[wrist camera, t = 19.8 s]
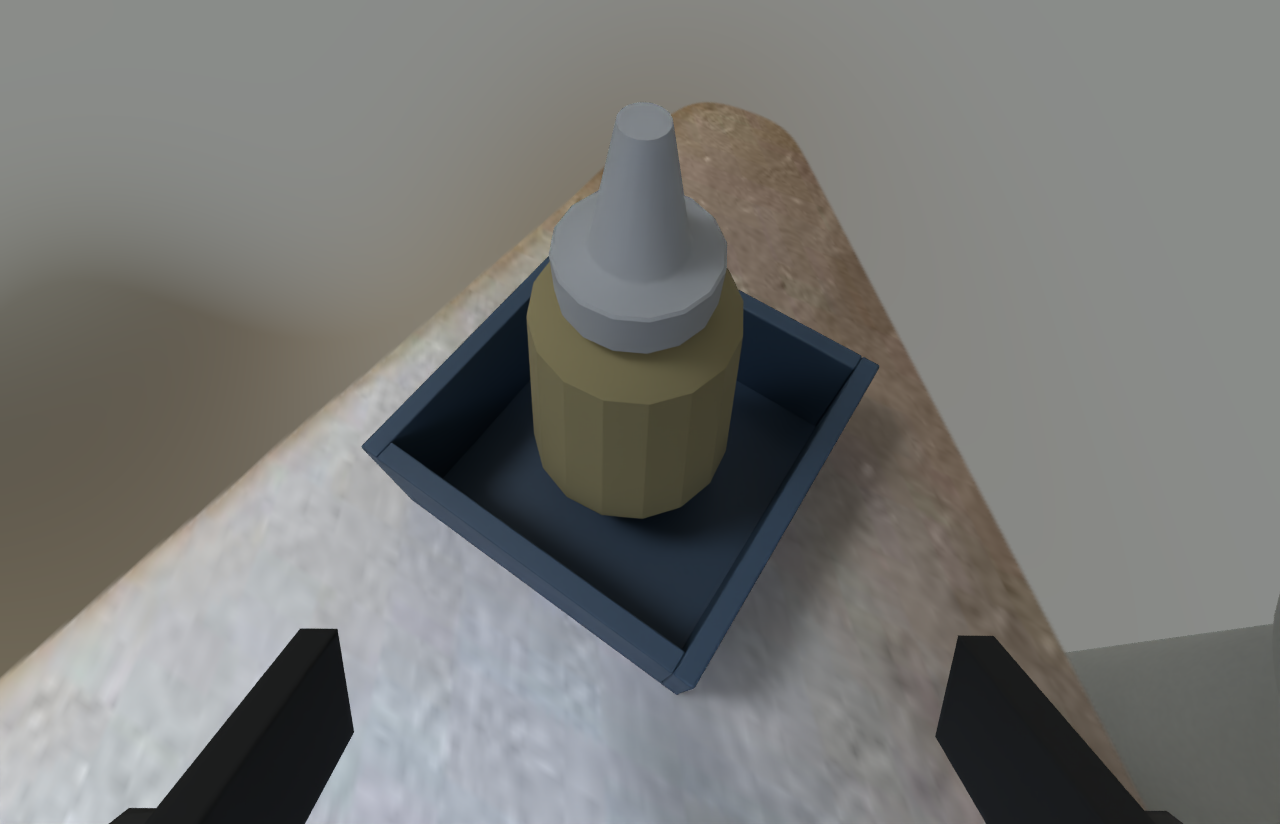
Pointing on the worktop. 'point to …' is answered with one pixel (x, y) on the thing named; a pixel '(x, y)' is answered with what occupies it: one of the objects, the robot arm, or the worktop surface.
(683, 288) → the squeeze bottle
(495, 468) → the bin
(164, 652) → the worktop surface
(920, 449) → the worktop surface
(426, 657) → the worktop surface
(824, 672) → the worktop surface
